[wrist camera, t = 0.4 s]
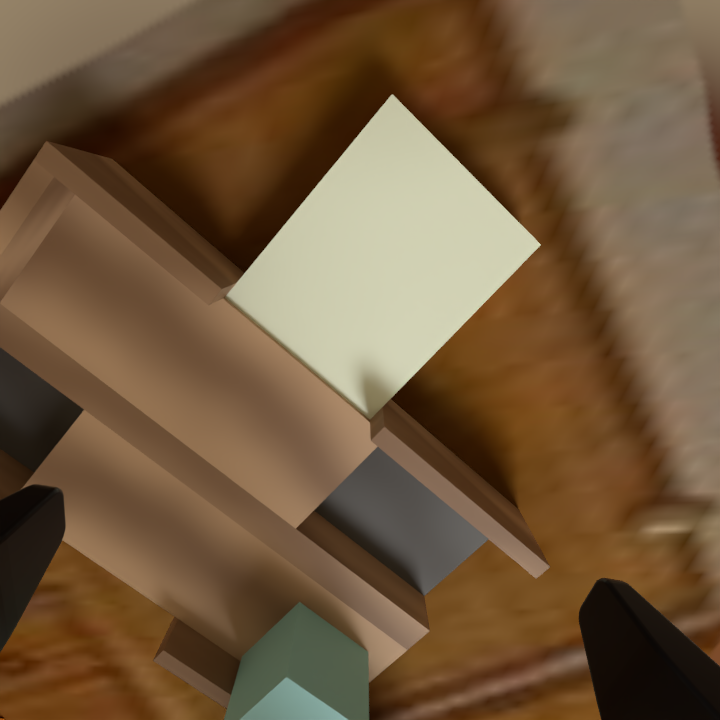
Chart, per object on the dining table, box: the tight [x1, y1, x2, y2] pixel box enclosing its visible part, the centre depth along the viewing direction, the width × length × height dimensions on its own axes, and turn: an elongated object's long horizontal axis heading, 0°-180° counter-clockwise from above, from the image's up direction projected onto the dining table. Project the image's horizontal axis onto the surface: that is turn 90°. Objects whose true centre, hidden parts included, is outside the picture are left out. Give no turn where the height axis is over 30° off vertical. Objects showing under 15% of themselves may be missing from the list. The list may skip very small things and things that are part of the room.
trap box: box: [0, 141, 550, 709], centre depth 22 cm, size 16×25×4 cm, turn 48°
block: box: [224, 602, 369, 720], centre depth 22 cm, size 4×4×4 cm
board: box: [225, 94, 541, 419], centre depth 20 cm, size 10×8×2 cm
